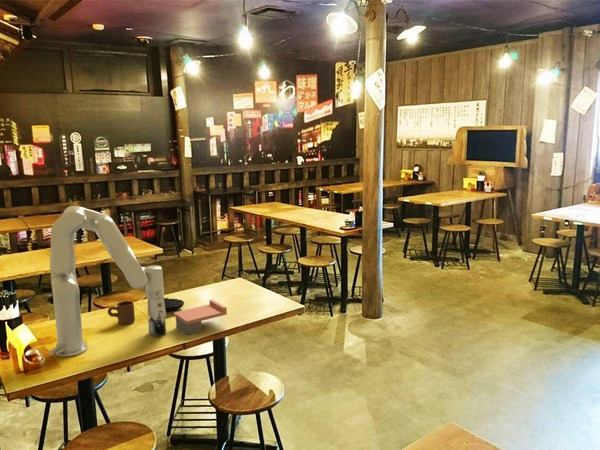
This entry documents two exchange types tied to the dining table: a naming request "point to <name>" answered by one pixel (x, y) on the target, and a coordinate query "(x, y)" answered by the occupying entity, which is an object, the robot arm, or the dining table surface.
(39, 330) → the dining table surface
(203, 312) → the stand
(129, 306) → the mug
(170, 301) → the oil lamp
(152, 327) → the block
